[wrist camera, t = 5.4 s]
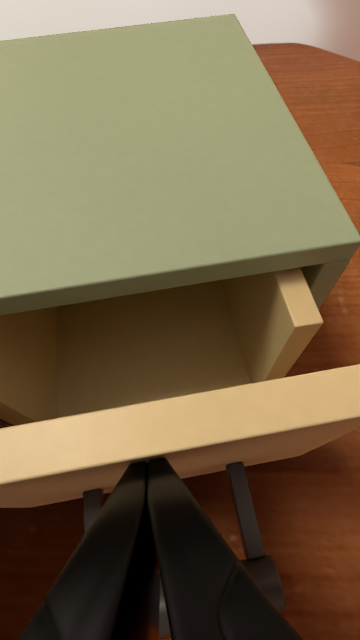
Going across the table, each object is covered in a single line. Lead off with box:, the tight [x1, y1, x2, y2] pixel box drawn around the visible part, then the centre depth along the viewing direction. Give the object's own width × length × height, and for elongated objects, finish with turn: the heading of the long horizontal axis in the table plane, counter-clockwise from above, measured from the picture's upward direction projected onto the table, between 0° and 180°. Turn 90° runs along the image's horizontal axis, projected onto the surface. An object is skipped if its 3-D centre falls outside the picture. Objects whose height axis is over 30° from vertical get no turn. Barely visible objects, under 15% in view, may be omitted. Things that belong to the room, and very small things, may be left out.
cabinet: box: [0, 14, 360, 315], centre depth 16 cm, size 14×13×10 cm
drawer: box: [0, 267, 360, 639], centre depth 13 cm, size 17×11×8 cm
